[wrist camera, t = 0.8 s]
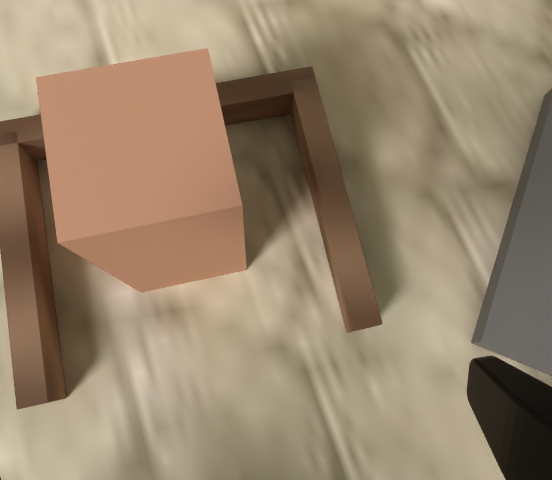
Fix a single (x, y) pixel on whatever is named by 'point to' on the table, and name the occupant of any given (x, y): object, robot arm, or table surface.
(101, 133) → the terracotta block
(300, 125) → the walnut bay
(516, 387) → the robot arm
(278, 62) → the table surface
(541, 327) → the rubber mat
